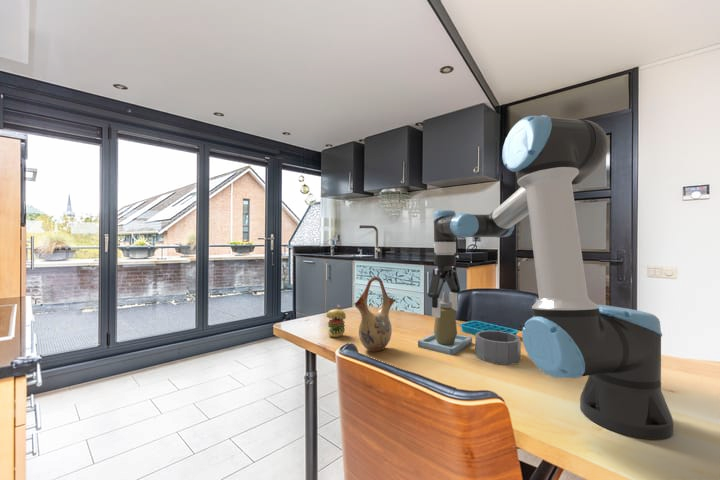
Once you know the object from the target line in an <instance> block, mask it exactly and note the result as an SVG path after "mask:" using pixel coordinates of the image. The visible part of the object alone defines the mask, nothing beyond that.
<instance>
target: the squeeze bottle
mask: <svg viewBox="0 0 720 480" xmlns="http://www.w3.org/2000/svg"><path fill="white" fill-rule="evenodd" d="M433 327H434V328H433V334H435V337H436V340H437V342H438V343H440V344H445V345H450V344H453V343H454V341H455V338H456V335H458V328H457V318H456V311H455V310H454V309H453V308H452V303H451V302H450V299H449V296H448V292H447V291H443V292H442V298H441V300H440V318H438V317H434V326H433Z"/></svg>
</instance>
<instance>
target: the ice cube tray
mask: <svg viewBox="0 0 720 480" xmlns="http://www.w3.org/2000/svg"><path fill="white" fill-rule="evenodd" d="M458 326H459V327H461V331H462V333H466V334H470V335H474V336H475V334H476V333H477V332H479V331H487V330H489V331H502V332H508V333H511V334H514V335H517V334H518V333H519V332H520V330H518V329H515V328H511V327H506V326H501V325H497V324H493V323H488V322H483V321H479V320H469V321H466V322H462V323H459V324H458Z"/></svg>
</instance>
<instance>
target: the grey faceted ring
mask: <svg viewBox="0 0 720 480" xmlns="http://www.w3.org/2000/svg"><path fill="white" fill-rule="evenodd" d="M474 338H475V340H474V341H475V342H474V343H475V345H474V346H475V348H474V349H475V350H474V352H475V356H476V357H477V358H478V359H480V360H482V361H484V362H488V363H492V364H497V365H514V364H518V363H520V361H521V360H522V350H521V349H522V345H521V344H522V343H521V342H522V339H521V338H520V337H519V335H517V334H516V335H514V334H511V333H508V332H502V331H489V330H487V331H479V332H477V333H476V334H475V335H474Z"/></svg>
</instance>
